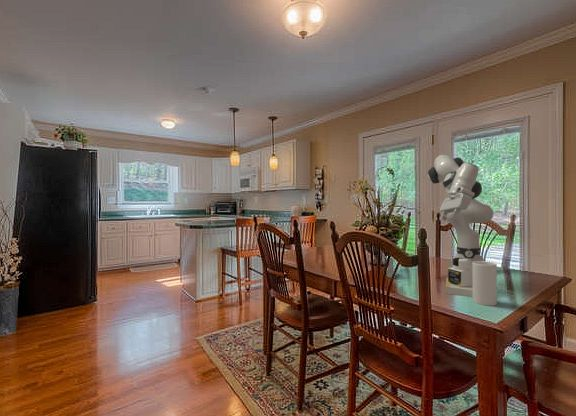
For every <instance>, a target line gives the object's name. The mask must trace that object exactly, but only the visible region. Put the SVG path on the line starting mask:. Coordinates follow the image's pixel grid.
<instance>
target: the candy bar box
mask: <svg viewBox="0 0 576 416" xmlns="http://www.w3.org/2000/svg"><path fill="white" fill-rule="evenodd" d="M385 258H386V256H385V254H384V253H382V252H381V263H382V262H383V264H384V263H385ZM392 273H393V274H394V258H393V259H392V258H390V261H389V266H388V270H387V276H388V277H391V275H392Z"/></svg>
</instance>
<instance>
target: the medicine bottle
mask: <svg viewBox="0 0 576 416" xmlns="http://www.w3.org/2000/svg"><path fill="white" fill-rule="evenodd" d="M453 258H454V257H453ZM453 258H452V266H453V268H451V267H448V268H447V271H448V274H447V278H448V283H450V284H453V285H456V286H459V287H465V286H472V285H473V270H470V269H467V268H468V260H467V259H465V258H454V259H453Z"/></svg>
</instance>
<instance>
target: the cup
mask: <svg viewBox="0 0 576 416" xmlns="http://www.w3.org/2000/svg"><path fill="white" fill-rule="evenodd" d="M497 265H498V264H497V263H495V262H493V261H485V260H484V261H474V262H473V297H472V302H473V303H475V304H477V305H482V306H489V307H490V306H496V305H498V301H497V299H498V298H497V297H498V295H497V294H498V291H497V290H498V285H497V281H498V280H497V277H498V276H497V275H498V271H497V270H498V269H497V268H498V267H497Z"/></svg>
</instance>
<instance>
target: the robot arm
mask: <svg viewBox="0 0 576 416" xmlns="http://www.w3.org/2000/svg"><path fill="white" fill-rule="evenodd" d="M433 163H434V164H433V167H432V166H431V167H430V169H428V171H427V178H428V180H429V181H430V182H431V183H432V184H439V183H442V185H443V187H444V190H445V193H446V196H447V197H446V198H445V199H444V200H443V201H442V203H441V206H440V208H439V212H441V218H440V219H441V220H442V221H447V222H448V223H449V224H451V226H452V227H453V228H454V230H455V232H456V241H457V242H456V243H457V245H456V254H455V255H454V256H453V258H452V260H453V259H454V258H465V259H467V260H468V268H467V269H470V270H473V262H474V261H485V259H484V257H483V256H482V255H481V254H482V253H481V252H482V249H481V245H480V244H481V243H480V242H481V241H480V240H481V239H480V237H481V236H480V233H479V232H477V231H476V230H474V229H472V228H471V226H470V224H482V223H487V222H491V220H492V219H493V217H494V211H493V210H494V209H493V208H492V206H490V205H487V204H485V203H482V202H480V201H479V200H477V199H476V198H478V197H479V196H480V195H481V193H482V189H483V188H482V183H481V182H479V181H478V180H477V178H478V176H479V167H478V166H477V165H475V164H472V163H470V162H465V161H464V159H462V157H454V158H453V157H451V156H450V155H447V154H440V155H438V156H437V157H435V159H434V162H433ZM450 268H453V265H452V266H451V267H450Z"/></svg>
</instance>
